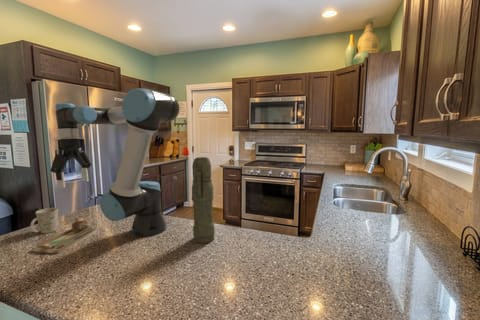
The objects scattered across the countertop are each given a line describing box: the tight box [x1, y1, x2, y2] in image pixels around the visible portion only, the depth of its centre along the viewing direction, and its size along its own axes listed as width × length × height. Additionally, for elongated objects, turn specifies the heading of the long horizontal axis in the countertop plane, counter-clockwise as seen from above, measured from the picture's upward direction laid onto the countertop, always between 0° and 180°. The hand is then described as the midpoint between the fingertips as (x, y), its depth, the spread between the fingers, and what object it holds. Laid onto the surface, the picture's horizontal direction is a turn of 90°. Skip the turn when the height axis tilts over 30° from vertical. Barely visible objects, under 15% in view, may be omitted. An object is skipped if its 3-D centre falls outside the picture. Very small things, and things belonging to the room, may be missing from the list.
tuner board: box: [31, 226, 98, 254], centre depth 105 cm, size 12×20×2 cm, turn 170°
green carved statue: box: [191, 156, 216, 245], centre depth 102 cm, size 9×12×35 cm
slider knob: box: [71, 217, 92, 233], centre depth 111 cm, size 7×4×6 cm, turn 80°
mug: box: [29, 207, 59, 234], centre depth 113 cm, size 8×13×10 cm, turn 174°
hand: (74, 184), depth 113 cm, fingers open, 13 cm apart
